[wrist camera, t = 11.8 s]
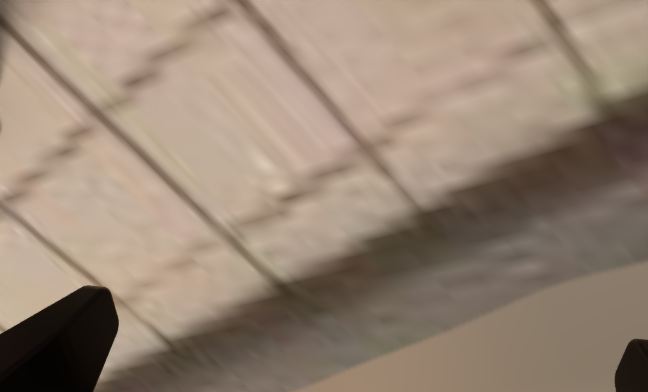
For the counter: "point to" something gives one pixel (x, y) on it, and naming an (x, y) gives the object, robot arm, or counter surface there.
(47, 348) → the robot arm
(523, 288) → the counter surface
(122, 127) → the counter surface
